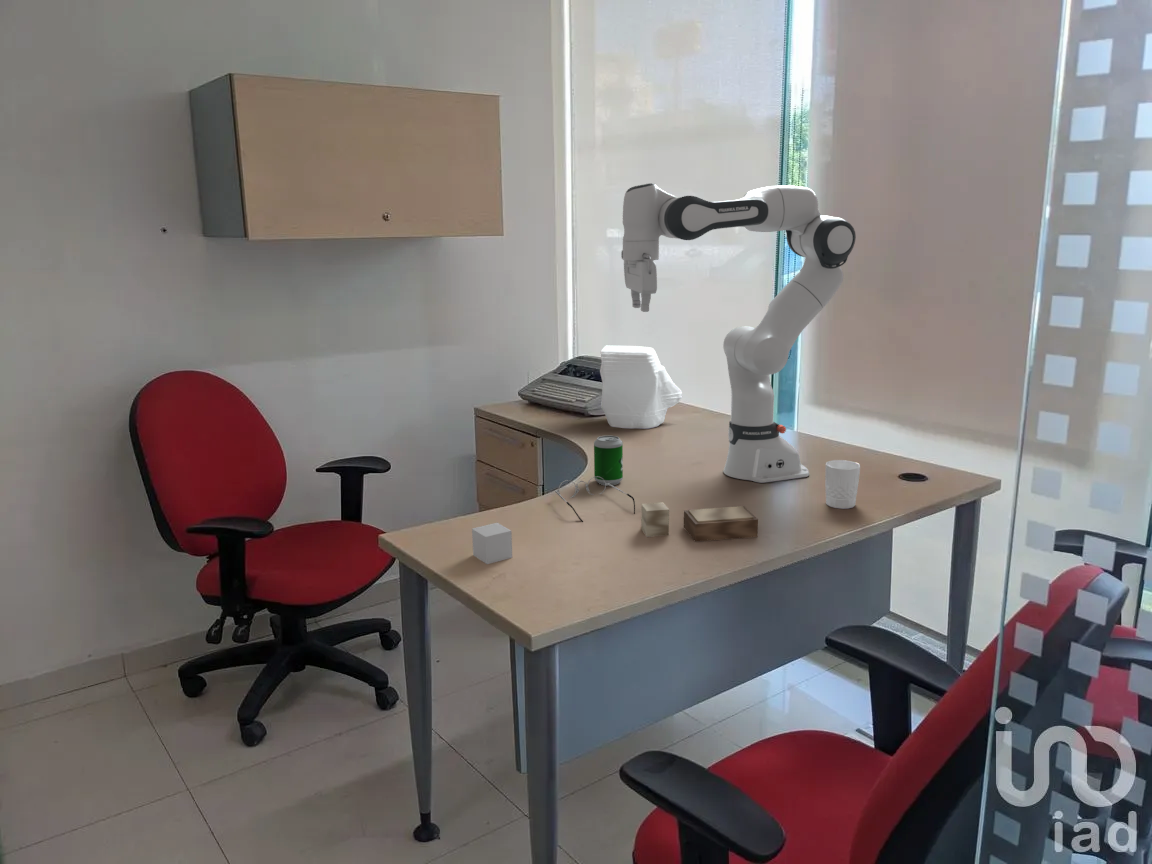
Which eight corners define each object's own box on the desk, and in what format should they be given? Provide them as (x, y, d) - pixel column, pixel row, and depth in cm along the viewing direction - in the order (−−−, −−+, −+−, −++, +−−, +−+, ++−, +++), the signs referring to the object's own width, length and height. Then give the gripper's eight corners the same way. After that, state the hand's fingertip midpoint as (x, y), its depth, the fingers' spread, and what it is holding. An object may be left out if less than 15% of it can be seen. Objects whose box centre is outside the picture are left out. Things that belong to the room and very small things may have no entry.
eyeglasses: (610, 492, 218) (610, 473, 217) (640, 515, 201) (640, 495, 200) (550, 500, 213) (550, 481, 212) (577, 524, 196) (576, 504, 195)
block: (663, 527, 192) (663, 502, 190) (668, 535, 187) (669, 509, 186) (641, 529, 191) (641, 503, 190) (646, 537, 186) (646, 511, 185)
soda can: (620, 487, 221) (620, 442, 218) (592, 485, 222) (591, 441, 219) (624, 478, 228) (624, 435, 225) (597, 477, 229) (596, 434, 226)
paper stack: (609, 415, 300) (608, 343, 294) (683, 421, 290) (684, 346, 284) (586, 429, 281) (585, 352, 275) (665, 436, 271) (665, 356, 265)
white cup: (840, 511, 200) (842, 471, 197) (816, 502, 206) (818, 462, 204) (864, 506, 203) (867, 466, 201) (840, 497, 210) (843, 458, 207)
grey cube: (486, 564, 173) (485, 537, 172) (473, 555, 178) (471, 528, 176) (512, 557, 176) (511, 530, 175) (498, 549, 181) (497, 522, 180)
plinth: (743, 522, 194) (743, 504, 193) (757, 536, 185) (758, 518, 184) (683, 527, 192) (683, 509, 190) (695, 541, 183) (695, 522, 182)
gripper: (663, 254, 199) (663, 313, 202) (644, 251, 219) (643, 305, 222) (637, 254, 198) (637, 314, 202) (619, 251, 218) (620, 306, 221)
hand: (640, 309), depth 212 cm, fingers open, 8 cm apart
